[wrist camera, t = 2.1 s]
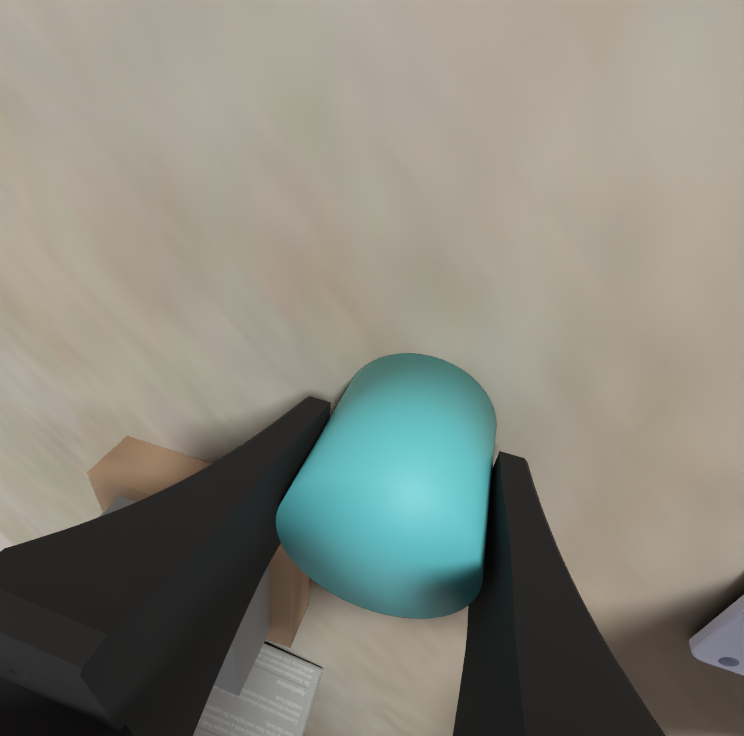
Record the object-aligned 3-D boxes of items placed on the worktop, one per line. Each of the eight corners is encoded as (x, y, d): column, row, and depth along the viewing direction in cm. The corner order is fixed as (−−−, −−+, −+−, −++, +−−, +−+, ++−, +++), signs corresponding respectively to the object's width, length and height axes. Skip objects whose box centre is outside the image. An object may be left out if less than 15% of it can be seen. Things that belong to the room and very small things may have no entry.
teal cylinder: (517, 378, 11) (511, 526, 7) (474, 490, 14) (454, 641, 10) (352, 335, 12) (274, 451, 8) (340, 450, 14) (277, 576, 11)
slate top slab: (269, 550, 15) (230, 622, 13) (269, 629, 19) (238, 696, 17) (120, 495, 16) (62, 554, 14) (147, 580, 20) (104, 637, 18)
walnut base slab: (319, 486, 16) (290, 543, 14) (312, 593, 21) (290, 647, 19) (136, 427, 18) (86, 472, 16) (167, 540, 22) (133, 586, 21)
